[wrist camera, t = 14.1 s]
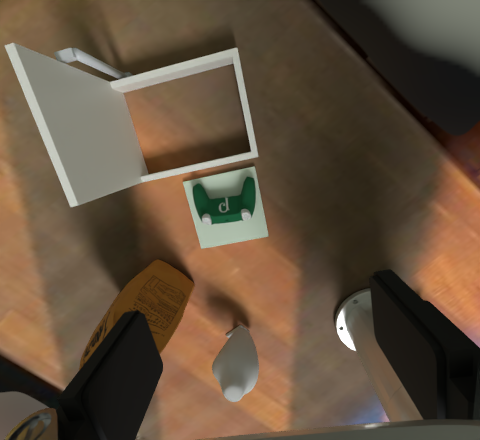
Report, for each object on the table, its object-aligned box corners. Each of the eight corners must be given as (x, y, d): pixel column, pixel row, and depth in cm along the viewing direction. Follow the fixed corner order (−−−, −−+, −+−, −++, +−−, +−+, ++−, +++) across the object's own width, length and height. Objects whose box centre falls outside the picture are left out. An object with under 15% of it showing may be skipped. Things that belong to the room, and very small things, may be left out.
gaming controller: (198, 195, 42) (197, 229, 39) (191, 181, 38) (190, 217, 35) (256, 188, 41) (259, 222, 38) (253, 173, 37) (257, 209, 35)
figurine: (265, 335, 47) (268, 398, 36) (246, 353, 48) (243, 418, 37) (233, 311, 46) (225, 368, 35) (214, 330, 47) (201, 390, 36)
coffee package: (116, 294, 46) (1, 421, 25) (159, 248, 43) (68, 349, 22) (160, 328, 48) (85, 474, 27) (204, 286, 45) (158, 413, 24)
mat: (254, 166, 39) (254, 166, 38) (268, 235, 42) (268, 236, 41) (183, 181, 40) (182, 182, 39) (202, 247, 43) (201, 248, 42)
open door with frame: (236, 44, 34) (219, -43, 18) (258, 155, 38) (260, 166, 22) (113, 78, 36) (-3, 28, 20) (145, 180, 40) (70, 207, 24)
